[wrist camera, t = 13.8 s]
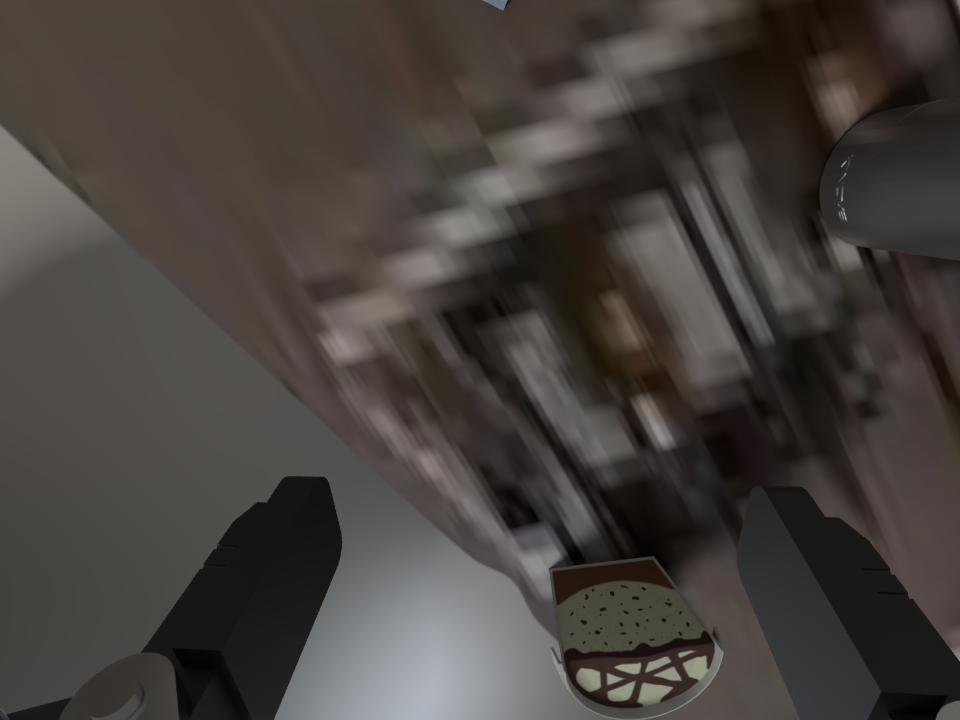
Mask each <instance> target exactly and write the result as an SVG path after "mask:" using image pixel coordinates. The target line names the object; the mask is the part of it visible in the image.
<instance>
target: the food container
mask: <svg viewBox="0 0 960 720" xmlns="http://www.w3.org/2000/svg"><path fill="white" fill-rule="evenodd" d="M549 572H550V579H551V586H552V594H553V601H554V608H555V616H556V623H557V630H558V637H559V645H560V652H561V659H562V662H560V661H559V659H558V657H557V655H556V653H555V651H554V649H553V648H551V653H552V658H553V661H554V663H555V666H556V668H557V670H558V672H559V674H560V676H561V678H562V680H563V682H564V684H565V686H566V687H567V689H568V690H569V691H570V693H571V694H572V695H573V696H574V698H575V699H576V700H577V701H578V702H579V703H580V704H581V705H583V706H584V707H585V708H587V709H588V710H590V711H592V712H594V713H596V714H598V715H601V716H604V717H607V718H611V719H617V720H643V719H648V718H654V717H657V716H661V715H664V714H667V713H669V712H672V711H674V710H676V709H678V708H680V707H682V706H684V705H685V704H687V703H689V702H690V701H691V700H693V699H694V698H695V697H697V696H698V695H699V694H700V693H701V692H702V691H703V690H704V689H705V688H706V687H707V686H708V685H709V683H710V682H711V681H712V680H713V678H714V676H715V675H716V673H717V671H718V669H719V667H720V664H721V662H722V658H723V652H724V651H723V649H722V641H721V638H720V635H719V633H718V630H717V628H716V627H714V630H713V635H712V633H711V632H710V631H709V629H708V628H707V627H706V625H705V624H704V623H703V621H702V620H701V619H700V617H699V616H698V615H697V613H696V612H695V611H694V609H693V608H692V607H691V605H690V604H689V603H688V601H687V600H686V599H685V597H684V596H683V595H682V593H681V592H680V591H679V589H678V588H677V587H676V585H675V584H674V582H673V581H672V580H671V578H670V577H669V576H668V574H667V573H666V572H665V570H664V569H663V568H662V566H661V565H660V564H659V562H658V561H657V560H656V558H655V557H654V556H650V557H642V558H634V559H625V560H617V561H609V562H601V563H592V564H584V565H576V566H567V567H559V568H551V569H549Z"/></svg>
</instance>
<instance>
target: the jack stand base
mask: <svg viewBox="0 0 960 720" xmlns="http://www.w3.org/2000/svg"><path fill="white" fill-rule="evenodd" d="M483 1H485V2H487V3H489V4H491V5H493V6H495V7H497V8H499V9H501V10H503V11H504V8H505V5H506V3H507V0H483Z"/></svg>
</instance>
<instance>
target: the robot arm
mask: <svg viewBox="0 0 960 720" xmlns="http://www.w3.org/2000/svg"><path fill="white" fill-rule="evenodd" d="M820 207H821V211H822V215H823V218H824V220H825V222H826V224H827V225H828V227H829V229H830V230H831V231H832V232H833V233H834V234H835V235H836V236H837V237H838V238H840V239H841V240H843V241H844V242H846V243H849V244H852V245H855V246H859V247H866V248H874V249H881V250H888V251H896V252H902V253H909V254H916V255H924V256H931V257H938V258H946V259H953V260H960V97H955V98H949V99H943V100H937V101H932V102H926V103H921V104H915V105H910V106H904V107H899V108H893V109H888V110H883V111H881V112H878V113H875V114H873V115H870V116H869V117H867V118H865V119H864V120H862V121H860V122H859V123H857V124H856V125H855V126H854V127H853V128H852V129H850V130H849V131H848V132H847V133H846V134H845V135H844V136H843V137H842V139H841V140H840V141H839V142H838V144H837V145H836V146H835V148H834V150H833V151H832V153H831V155H830V157H829V158H828V160H827V163H826V166H825V168H824V171H823V174H822V178H821V184H820ZM341 549H342V536H341V530H340V526H339V522H338V518H337V514H336V510H335V505H334V501H333V497H332V493H331V489H330V485H329V482H328V480H327V479H326V478H325V477H303V476H287V477H285V478H283V479H282V481H281V482H280V483H279V485H278V486H277V488H276V489H275V491H274V492H273V494H272V495H271V497H270V498H269V500H268V501H267V503H262V502H261V503H260V502H257V503H256V504H255V505H253V506H252V507H251V508H250V509H249V510H247V511H246V512H245V513H244V514H242V515H241V516H240V517H239V518H237V519H236V520H235V521H234V522H233V523H232V524H231V526H230V527H229V529H228V530H227V532H226V533H225V534H224V536H223V537H222V539H221V540H220V541H219V543H218V544H217V549H216V550H215V549H214V550H213V551H212V553H211V554H210V556H209V557H208V559H207V560H206V561H205V563H204V567H203V569H200V570H199V571H198V573H197V574H196V576H195V577H194V578H193V580H192V581H191V583H190V584H189V586H188V587H187V589H186V590H185V591H184V593H183V594H182V596H181V597H180V598H179V600H178V601H177V603H176V604H175V606H174V607H173V608H172V610H171V611H170V613H169V614H168V616H167V617H166V618H165V620H164V621H163V623H162V624H161V625H160V627H159V628H158V630H157V631H156V633H155V634H154V635H153V637H152V638H151V640H150V641H149V642H148V644H147V645H146V647H145V648H144V649H143V651H142V652H141V653H140V654H135V655H132V656H128V657H126V658H123V659H121V660H119V661H116V662H115V663H113V664H111V665H109V666H107V667H106V668H104V669H103V670H101V671H100V672H99V673H97V674H96V675H95V676H93V677H92V678H91V679H89V680H88V681H87V682H86V683H85V684H84V685H83V686H82V687H81V688H80V689H79V690H78V692H77V693H76V694H75V695H74V696H73V697H71V698H67V699H64V700H60V701H56V702H52V703H48V704H45V705H41V706H37V707H34V708H29V709H26V710H22V711H18V712H14V713H11V714H7V715H6V713H5V712H4V711H3V710H2V709H1V708H0V720H274V718H275V715H276V713H277V711H278V708H279V706H280V704H281V701H282V698H283V696H284V694H285V691H286V689H287V687H288V684H289V682H290V679H291V677H292V674H293V672H294V670H295V667H296V665H297V663H298V660H299V658H300V655H301V653H302V651H303V648H304V646H305V643H306V641H307V638H308V636H309V634H310V631H311V629H312V626H313V624H314V622H315V619H316V617H317V615H318V612H319V610H320V607H321V605H322V602H323V600H324V598H325V595H326V593H327V591H328V588H329V586H330V583H331V581H332V579H333V576H334V574H335V571H336V569H337V566H338V564H339V560H340V555H341ZM737 563H738V570H739V574H740V578H741V581H742V583H743V586H744V588H745V591H746V593H747V595H748V598H749V600H750V602H751V605H752V607H753V609H754V612H755V614H756V616H757V619H758V621H759V624H760V626H761V628H762V631H763V633H764V635H765V638H766V640H767V642H768V645H769V647H770V649H771V652H772V654H773V656H774V659H775V661H776V663H777V666H778V668H779V670H780V673H781V675H782V678H783V680H784V682H785V685H786V687H787V689H788V692H789V694H790V696H791V699H792V701H793V703H794V706H795V708H796V710H797V713H798V715H799V717H800V720H960V661H959V660H958V659H957V657H956V656H955V655H954V653H953V652H952V651H951V649H950V648H949V647H948V645H947V644H946V643H945V641H944V640H943V639H942V637H941V636H940V635H939V633H938V632H937V631H936V629H935V628H934V627H933V625H932V624H931V623H930V621H929V620H928V619H927V617H926V616H925V615H924V613H923V612H922V611H921V609H920V608H919V607H918V605H917V604H916V603H915V601H914V600H913V599H909V597H908V592H907V591H906V589H905V588H904V587H903V585H902V584H901V583H900V581H899V580H898V579H897V577H896V576H895V575H891V573H890V568H889V567H888V565H887V564H886V563H885V561H884V560H883V559H882V557H881V556H880V555H879V553H878V552H877V551H876V549H875V548H874V547H873V545H872V544H871V543H870V541H868V540H867V539H866V538H865V537H863V536H862V535H861V534H859V533H858V532H857V531H856V530H854V529H853V528H852V527H850V526H849V525H848V524H847V523H845V522H844V521H843V520H841V519H840V518H835V517H825V516H824V514H823V513H822V511H821V510H820V509H819V507H818V506H817V504H816V503H815V501H814V500H813V498H812V497H811V495H810V494H809V493H808V492H807V490H805V489H804V488H802V487H796V486H755V487H753V489H752V490H751V493H750V496H749V500H748V504H747V508H746V513H745V517H744V521H743V525H742V529H741V534H740V538H739V542H738V547H737Z"/></svg>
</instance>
